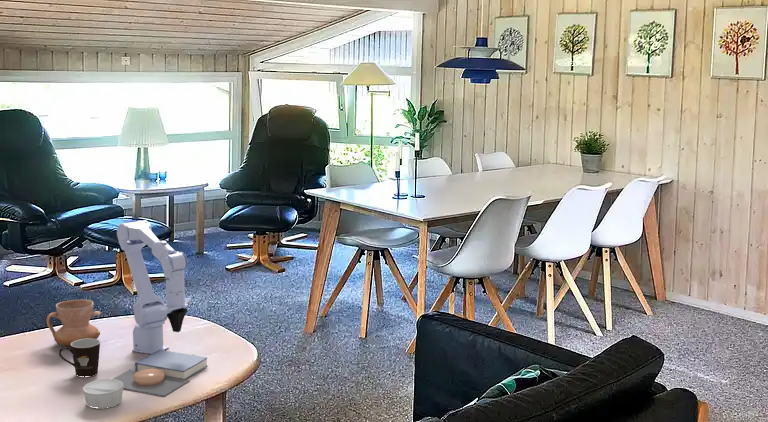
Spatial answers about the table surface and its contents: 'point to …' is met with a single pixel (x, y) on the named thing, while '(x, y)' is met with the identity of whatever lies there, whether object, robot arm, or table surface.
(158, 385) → the placemat
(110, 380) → the ramekin
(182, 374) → the book
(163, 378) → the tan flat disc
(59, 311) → the ceramic jug
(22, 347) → the table surface
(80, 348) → the coffee mug
